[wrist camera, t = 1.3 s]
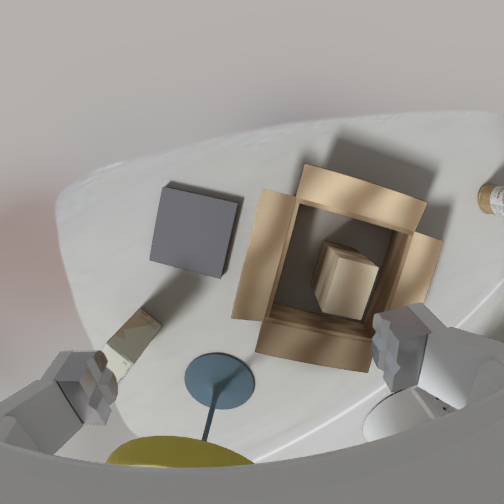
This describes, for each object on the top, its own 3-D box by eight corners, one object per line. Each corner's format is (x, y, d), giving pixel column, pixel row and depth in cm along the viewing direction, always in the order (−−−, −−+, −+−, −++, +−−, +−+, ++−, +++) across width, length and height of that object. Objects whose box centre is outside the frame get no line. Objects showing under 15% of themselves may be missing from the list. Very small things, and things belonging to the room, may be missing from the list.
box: (140, 306, 44) (107, 340, 33) (163, 325, 45) (135, 363, 34) (124, 329, 45) (90, 364, 34) (145, 347, 46) (117, 386, 35)
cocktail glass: (267, 323, 44) (263, 462, 19) (284, 418, 47) (288, 547, 23) (148, 337, 45) (66, 449, 21) (181, 425, 49) (140, 540, 24)
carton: (428, 207, 39) (451, 211, 33) (378, 354, 44) (391, 376, 37) (270, 159, 39) (270, 154, 33) (230, 323, 44) (224, 345, 37)
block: (354, 248, 41) (378, 267, 31) (341, 290, 42) (360, 320, 32) (323, 240, 41) (339, 257, 31) (310, 283, 42) (322, 311, 32)
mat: (238, 203, 40) (237, 203, 39) (221, 276, 42) (220, 278, 42) (165, 186, 40) (162, 186, 39) (151, 258, 43) (149, 260, 42)
